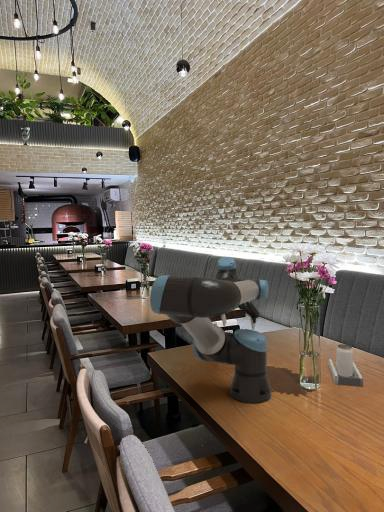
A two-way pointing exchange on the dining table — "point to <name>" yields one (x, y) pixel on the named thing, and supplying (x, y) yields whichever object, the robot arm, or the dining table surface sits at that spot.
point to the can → (344, 360)
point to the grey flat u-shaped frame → (346, 380)
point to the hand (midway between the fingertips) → (239, 325)
